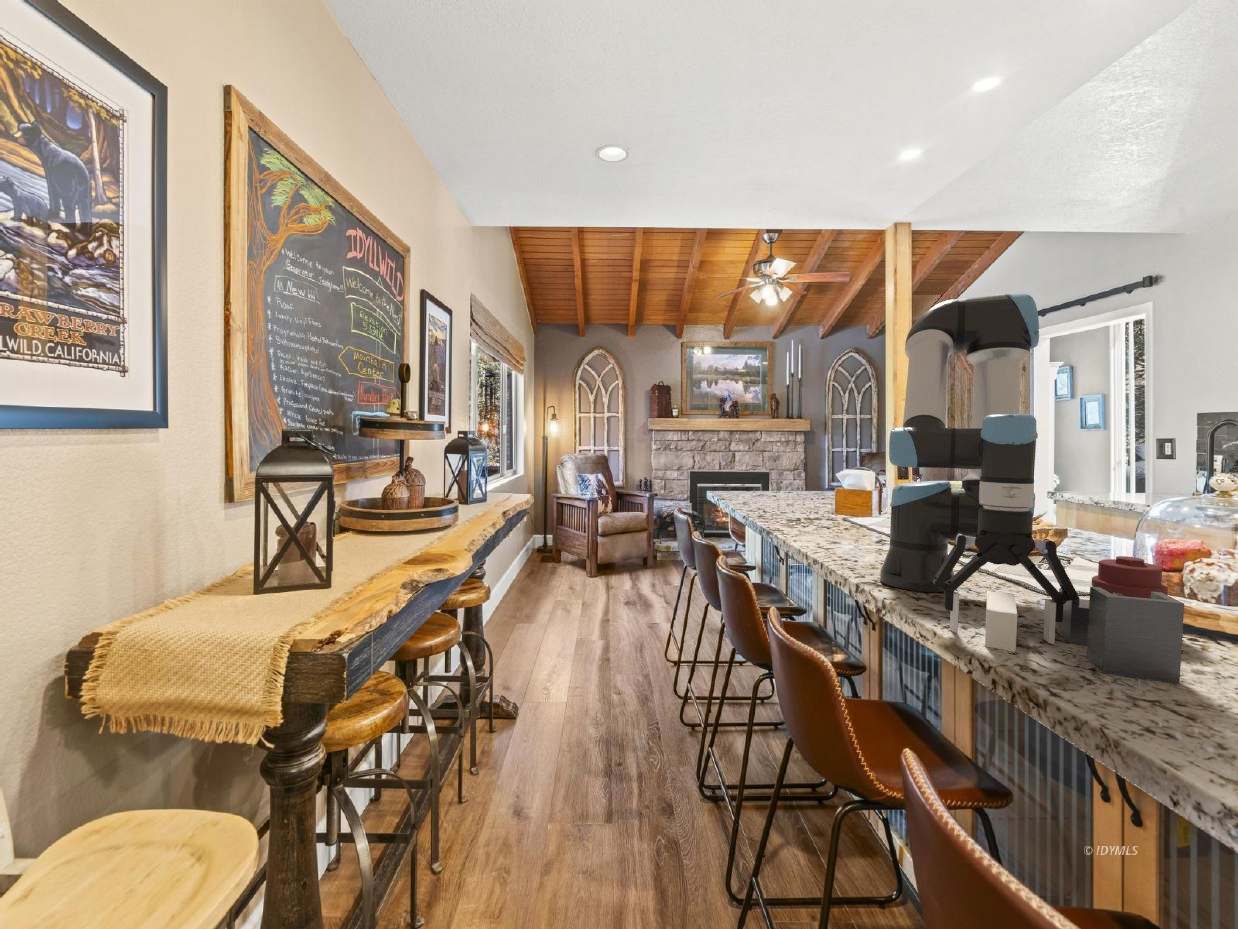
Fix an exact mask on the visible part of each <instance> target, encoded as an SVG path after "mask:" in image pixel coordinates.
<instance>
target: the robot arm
mask: <svg viewBox="0 0 1238 929" xmlns="http://www.w3.org/2000/svg"><path fill="white" fill-rule="evenodd" d="M1038 313H1039V311H1038V308H1037V304H1036V301H1035V300H1034V298H1033V297H1032V295H1029V294H1026V293H1017V294H1016V293H1015V294H1013V293H1012V294H1010V293H1005V294H1002V295H991V296H990V295H989V296H980V297H969V298H960V299H959V298H955V299H949V300H945V301H942V302H939V303H938V304H936V305H934V306H932V307H930V308H929V309H928V310H926V311H925V312H924V313H923V314H922V315H921V316H919V318H918V319H916V321H914V323H913V324H912V326H911V328H910V329H909V331H908V333H907V336H906V339H905V343H904V345H905V346H904V353H905V355H906V358H907V359H908V368H907V378H906V389H905V398H904V400H905V401H904V410H903V417H902V418H903V419H902V426H900V427H893V428H892V429H891V430H890V432H889V443H888V444H889V445H888V456H889V462H890V463H891V465H893V466H896V467H903V468H904V467H905V468H912V469H916V468H933V469H934V468H937V469H961V470H963V469H964V470H970V471H969V473H968V474H967V475H966V476H964V477H963V478H962V479H961V487H952V484H951V482H950V480H925V481H916V482H915V481H914V482H906V483H900V484H898V485H895V486H894V487H893V489H892V492H891V502H890V504H889V507H890V508H891V510H890V527H889V528H890V532H889V548H888V551H887V553H886V556H885V558H884V561H883V563H882V566H881V568H880V575H879V580H880V582H881V583H883V584H885V585H888V586H889V587H890V586H891V587H893V588H898V589H902V590H906V591H914V592H921V593H922V592H923V593H924V592H925V593H943V607H944V609H945V611H947V612H948V611H949V612H950V613H949V614H950V615H949V617H950V618H949V629H950V630H951V631H952V633H958V630H959V606H960V593H959V592H958V591H957V589H958V588H959V587H960V586H962V585H963V584H964V583H965V582H966V581H968V579H970V577H971V576H972V575H974V574H975V573H976V572H977V571H978V570H979V569H980V568H982V567H984V566H985V565H986V564H987V563H991V564H993V565H1008V566H1015V567H1016V566H1017V565H1020V564H1021V565H1022V567H1024V569H1025V570H1026V571H1027V572H1028V573H1029V575H1030V576H1031V577H1032V578H1033V579H1034V580H1035V581H1036V582H1037V584H1039V585H1040V587H1041V588H1042V589H1043V590H1044V592H1046V594H1048V596H1049V597H1050V598H1044V612H1043V613H1044V617H1043V636H1042V637H1043V639H1044V640H1045V641H1046V642H1047V643H1048V644H1054V645H1055V640H1056V639H1055V636H1056V623H1058V622H1062V620H1063V604H1065V603H1066V601H1070V600H1077V599H1078V598H1079V594H1078V592H1077V590H1076V589H1075V586H1074V585H1073V583H1072V580H1071V579H1070V577H1069V575H1068V573H1067V571H1066V570H1065V568H1064V566H1063V564H1062V562H1061V560H1060V558H1059V556H1058V553H1057V552H1058V551H1057V544H1056V542H1055V541H1053V540H1050V539H1049V538H1044V539H1043V540H1034V538H1033V524H1034V523H1033V522H1034V521H1033V520H1034V513H1035V506H1036V502H1035V501H1036V494H1035V490H1034V488H1035V469H1036V468H1035V467H1036V466H1035V465H1036V452H1037V450H1036V449H1037V439H1038V433H1037V432H1038V431H1037V419H1036V417H1035V416H1034V415H1031V414H1021V413H1020V410H1021V409H1020V406H1021V404H1020V403H1021V402H1020V401H1021V371H1022V370H1021V369H1022V368H1021V366H1022V363H1023V362H1024V361H1025V360H1027V358H1029V357H1030V351H1031V350H1032V349H1034V348H1036V347H1038V345H1039V342H1040V331H1039V329H1040V322H1039V321H1040V320H1039V315H1038ZM955 352H956V353H958V352H960V353H961V352H966V355H965V356H966V357H965V360H966V361H968V362H969V363H970V364H971V365H972V366H973V382H972V383H973V384H972V385H973V386H972V387H973V388H972V411H971V412H972V413H971V414H972V416H971V428H966V427H965V428H964V427H963V428H961V427H960V428H959V427H957V428H956V427H947V403H948V402H947V401H948V399H947V398H948V371H949V370H948V369H949V365H948V364H949V358H950V357H951V356H952V353H955ZM949 541H950V542H951V541H952V542H953V541H954V545H953V547H952V549H951V550H950V552H949V553H948V550H949V548H948V547H949ZM971 545H975V547H976V548H977V549H978V552H977V553H975V555H973V557H972V558H971V559H970V560H969V561H968V562H967V563H966V564H964V565H963V566H962V567H961V569H959V570H958V571H957V572H954V569H955V567H956V565H957V564H958V562H959V560H960V558H961V557H962V556H963V553H964V551H965V550H967V549H969V548H971ZM1035 549H1037V550H1038V551H1039V553H1040V554H1043V556H1044V558H1045V560H1046V562H1047V564H1048V566H1049V568H1050V570H1051V571H1052V574H1053V576H1054V577H1055V579H1056V581H1057V583H1058V585H1059V588H1061V589H1062V592H1059V589H1058V590H1057V588H1056V587H1055V586H1054V585H1053V584H1052V583H1051V581H1050V580H1049V579H1048V578H1047V577H1046V575H1045V574H1044V573H1042V571H1041V570H1040V569H1039V568H1038V567H1037V566H1036V565H1035V563H1034V562H1033V561H1032V560H1031V558H1030V557H1029V556H1030V554H1031V553H1032V552H1033V551H1035Z"/></svg>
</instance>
